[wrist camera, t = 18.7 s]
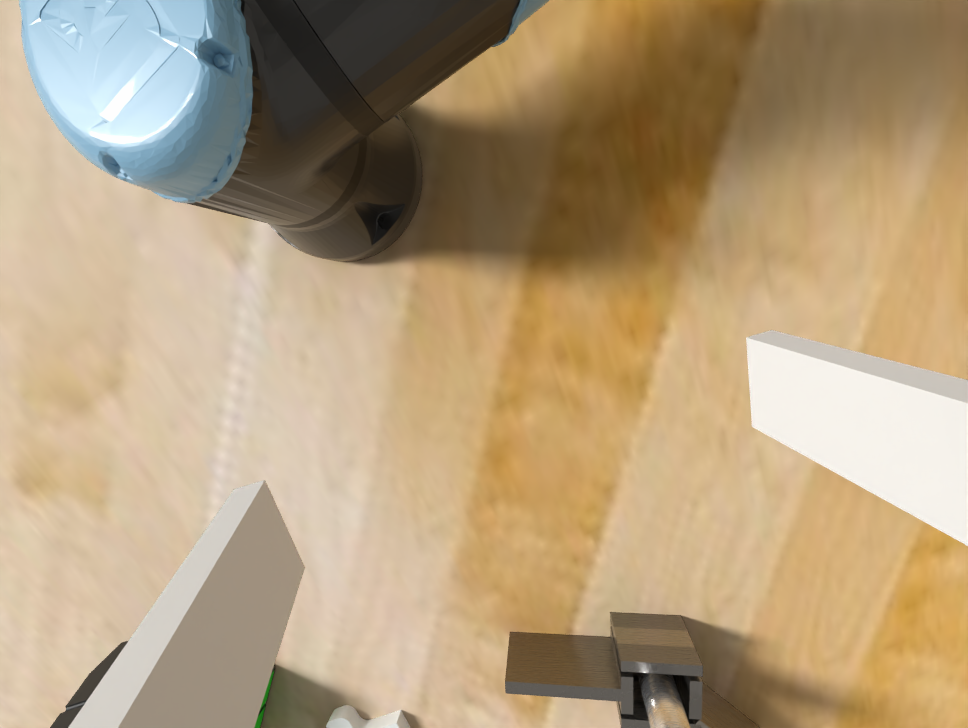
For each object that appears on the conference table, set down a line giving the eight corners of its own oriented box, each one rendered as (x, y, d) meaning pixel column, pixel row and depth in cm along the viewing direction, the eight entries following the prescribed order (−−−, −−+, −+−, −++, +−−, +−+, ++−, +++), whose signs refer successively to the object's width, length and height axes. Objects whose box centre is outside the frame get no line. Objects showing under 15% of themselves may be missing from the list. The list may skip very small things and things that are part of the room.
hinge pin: (629, 657, 44) (677, 853, 29) (629, 630, 44) (678, 814, 28) (661, 659, 44) (727, 859, 28) (661, 631, 44) (728, 819, 28)
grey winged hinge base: (513, 716, 47) (509, 776, 41) (508, 607, 45) (503, 654, 39) (759, 735, 44) (793, 803, 38) (764, 619, 42) (800, 671, 36)
